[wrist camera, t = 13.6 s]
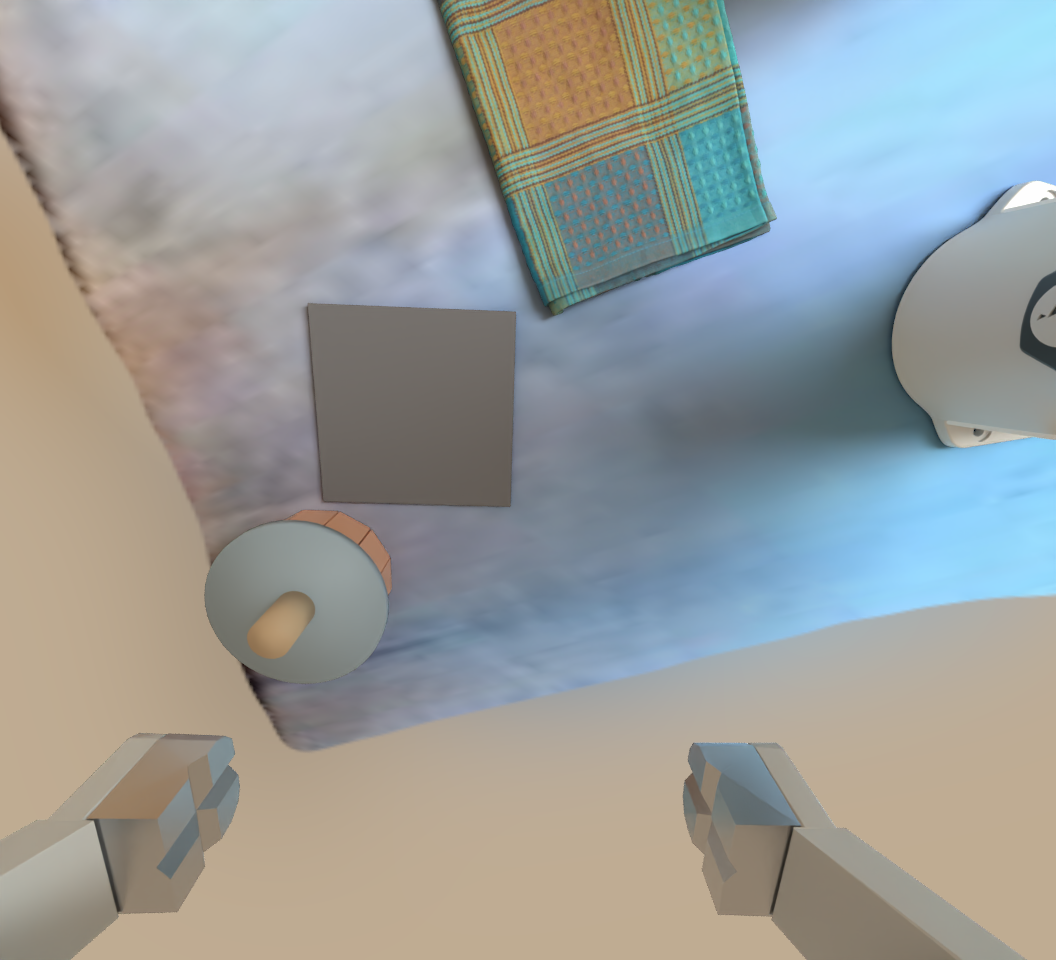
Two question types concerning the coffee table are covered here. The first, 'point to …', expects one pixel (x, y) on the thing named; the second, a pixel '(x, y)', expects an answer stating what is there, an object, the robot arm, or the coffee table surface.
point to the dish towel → (612, 134)
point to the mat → (414, 404)
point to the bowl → (352, 537)
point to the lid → (297, 601)
